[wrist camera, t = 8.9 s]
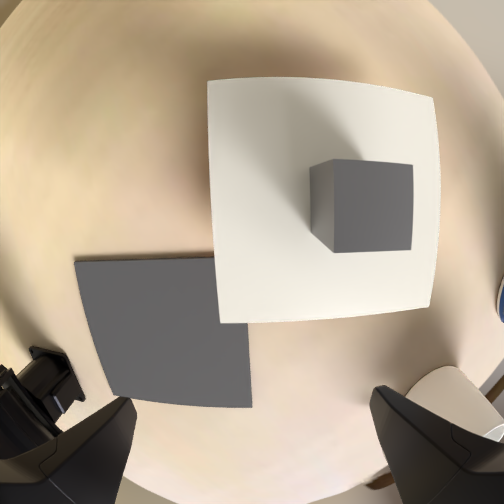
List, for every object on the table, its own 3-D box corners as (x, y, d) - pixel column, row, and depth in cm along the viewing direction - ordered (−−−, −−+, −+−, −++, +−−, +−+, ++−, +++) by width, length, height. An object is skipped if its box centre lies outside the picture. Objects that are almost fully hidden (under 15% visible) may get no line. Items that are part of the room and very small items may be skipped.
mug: (370, 392, 22) (408, 477, 11) (465, 351, 21) (519, 407, 10) (367, 438, 24) (392, 509, 13) (451, 402, 23) (489, 456, 12)
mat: (115, 392, 22) (113, 395, 22) (76, 260, 19) (73, 262, 19) (252, 404, 22) (252, 407, 22) (243, 255, 19) (243, 257, 18)
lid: (222, 316, 14) (207, 370, 10) (209, 86, 12) (187, 42, 7) (422, 301, 14) (467, 338, 9) (425, 100, 11) (476, 79, 7)
